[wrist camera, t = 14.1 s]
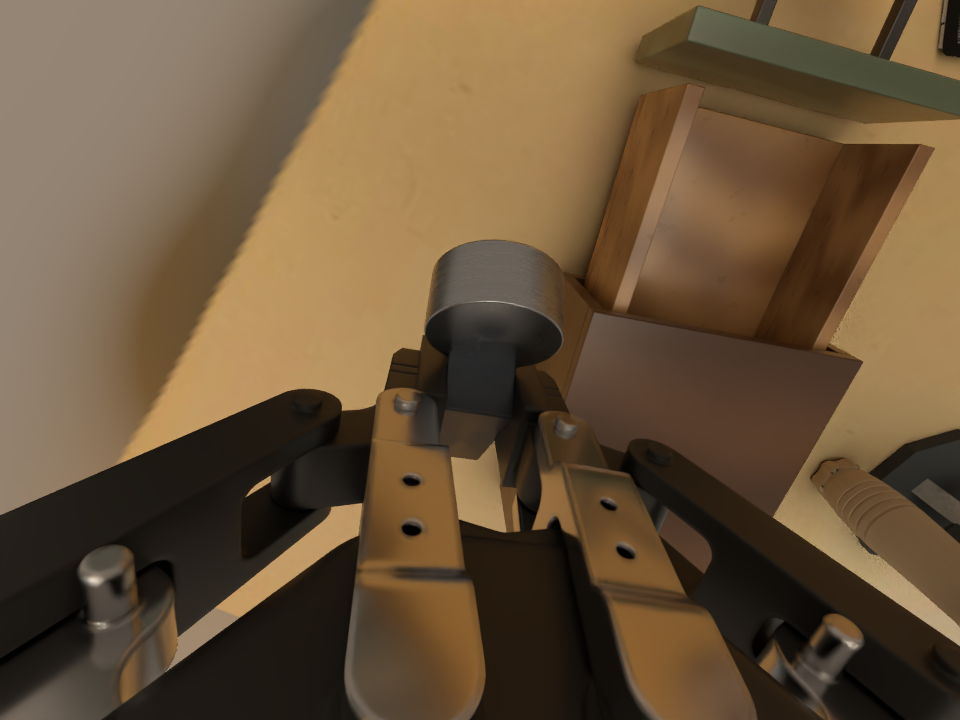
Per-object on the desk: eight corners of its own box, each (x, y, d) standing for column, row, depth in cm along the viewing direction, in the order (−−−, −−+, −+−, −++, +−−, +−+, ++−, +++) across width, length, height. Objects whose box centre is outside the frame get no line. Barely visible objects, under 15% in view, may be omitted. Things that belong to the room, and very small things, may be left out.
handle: (780, 476, 37) (973, 672, 23) (858, 430, 35) (1113, 609, 22) (804, 512, 39) (997, 713, 25) (880, 469, 37) (1129, 658, 24)
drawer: (682, -103, 21) (758, -183, 16) (934, -22, 23) (1076, -70, 18) (557, 325, 30) (581, 364, 24) (751, 360, 31) (812, 403, 26)
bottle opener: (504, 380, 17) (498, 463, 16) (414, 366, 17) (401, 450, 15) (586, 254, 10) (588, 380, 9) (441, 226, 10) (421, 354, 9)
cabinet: (559, 271, 29) (593, 311, 22) (772, 313, 31) (864, 361, 24) (499, 485, 36) (511, 568, 29) (678, 509, 38) (730, 591, 31)
